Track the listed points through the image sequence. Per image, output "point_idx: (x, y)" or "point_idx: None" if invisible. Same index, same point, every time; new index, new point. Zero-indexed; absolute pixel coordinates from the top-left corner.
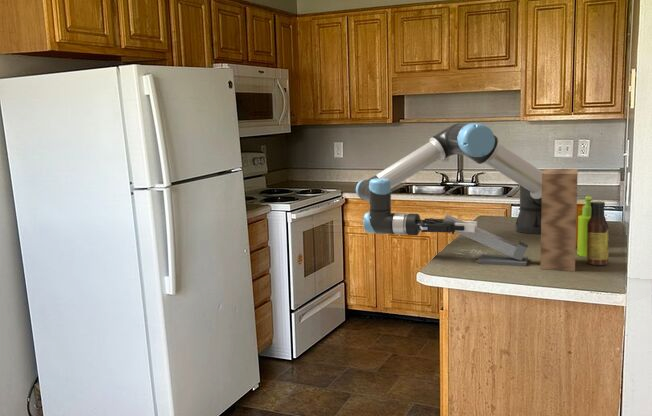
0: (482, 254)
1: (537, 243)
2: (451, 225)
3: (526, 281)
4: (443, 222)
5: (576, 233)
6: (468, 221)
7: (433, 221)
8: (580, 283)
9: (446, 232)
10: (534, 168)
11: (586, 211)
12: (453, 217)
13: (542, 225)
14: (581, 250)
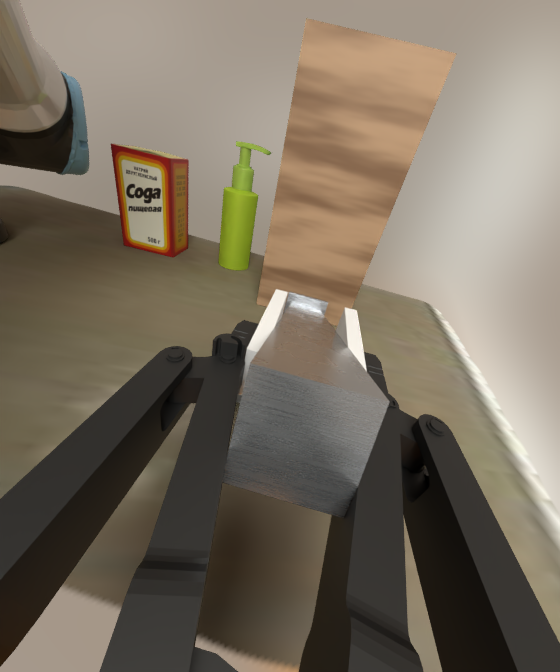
0: (238, 393)
1: (106, 273)
2: (395, 414)
3: (444, 365)
4: (358, 470)
5: (174, 228)
6: (274, 310)
7: (397, 666)
8: (408, 315)
9: (426, 489)
10: None
11: (251, 180)
12: (278, 347)
13: (380, 235)
14: (243, 260)
